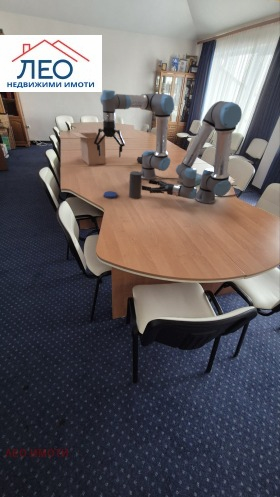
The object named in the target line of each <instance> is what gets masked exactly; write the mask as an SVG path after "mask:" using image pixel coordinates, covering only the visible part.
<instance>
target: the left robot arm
mask: <svg viewBox="0 0 280 497" xmlns="http://www.w3.org/2000/svg"><path fill="white" fill-rule="evenodd" d="M99 100H100V103H101V105H102V120H103V121H102V127H103V128H101V127H99V128H98V131H97V132H98V134H97V137H96V139H95V142H94V144H96V145H97V150H99V156H101V148H100V145H99V144H100V142H101V141H102V140H103V139H104V137H105V136H106V138H113V139H114V140H115V141H116V143H117V144H118V145H119V146H118V158H121V153H122V152H123V147H125V146H126V143H125V140H124V138H123V136H122V133H121V129H116V121H115V120H116V110H129V109H132V108H133V109H140V110H145V111H148V112H152V113H154V117H155V119H156V131H155V132H156V136H155V139H156V140H155V150H144V151H143V152H142V154H143V156H142V155H141V157H142V163H141V169H140V172H141V173H142V180H146V181H149V180H156V178H159V179H163V180H178V177H176V178H175V177H161V176H158V175H157V174H156V170H158V171H161V172H165V171H166V170H168V169H169V167H170V165H171V158H170V157H169V153H168V151H167V146H168V145H167V144H168V127H169V119H170V117H171V115H172V113H173V112H174V110H175V100H174V98H173V97H172V96H171V95H170V94H167V93H155V92H154V93H141V94H139V95H138V94H125V93H124V94H123V93H116V91H115V90H110V89H103V90H102V92H101V95H100V98H99ZM101 132H103V133H104V135H103V137H102V138H101V139H100V140H99V142H97V140H98V138H99V136H100V133H101ZM116 134H117V135H118V136H117V135H116ZM118 137H119V138H118ZM232 186H233V187H238V186H237V184H231V187H232Z"/></svg>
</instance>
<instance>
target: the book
mask: <svg viewBox="0 0 280 497" xmlns="http://www.w3.org/2000/svg"><path fill="white" fill-rule="evenodd" d="M177 176H178V175H177ZM201 179H202V174H201V173H198V172H197V173H196V179H195V184H194V187H195V186H197V185H200V183H201ZM183 181H184V180H183V179H182V178H181V177H180V176H178V177H177V183H179V184H182V185H183Z"/></svg>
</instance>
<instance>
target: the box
mask: <svg viewBox="0 0 280 497" xmlns="http://www.w3.org/2000/svg"><path fill="white" fill-rule="evenodd" d="M70 133H71V134H72V135H74V136H75V137H77V138H79V144H80V153H81V160H83V162H85V163H86V165H87V166H95V165H97V166H98V165H106V163H107V162H106V158H107V157H106V138H107V137H106V136H105V137H104V139H103V140H102V141H101V142H100V144H99V145H100V148H101V156H99V150H97V145H96V144H94V142H95V139H96V137H97V134H98V131H97V132H96V131H95V130H92V129H91V130H77V132H76V131H70ZM103 135H104V133H103V131H102V132H101V133H100V136H99V138H98V140H97V142H99V140H100V139H101V138H102V137H103Z"/></svg>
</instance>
